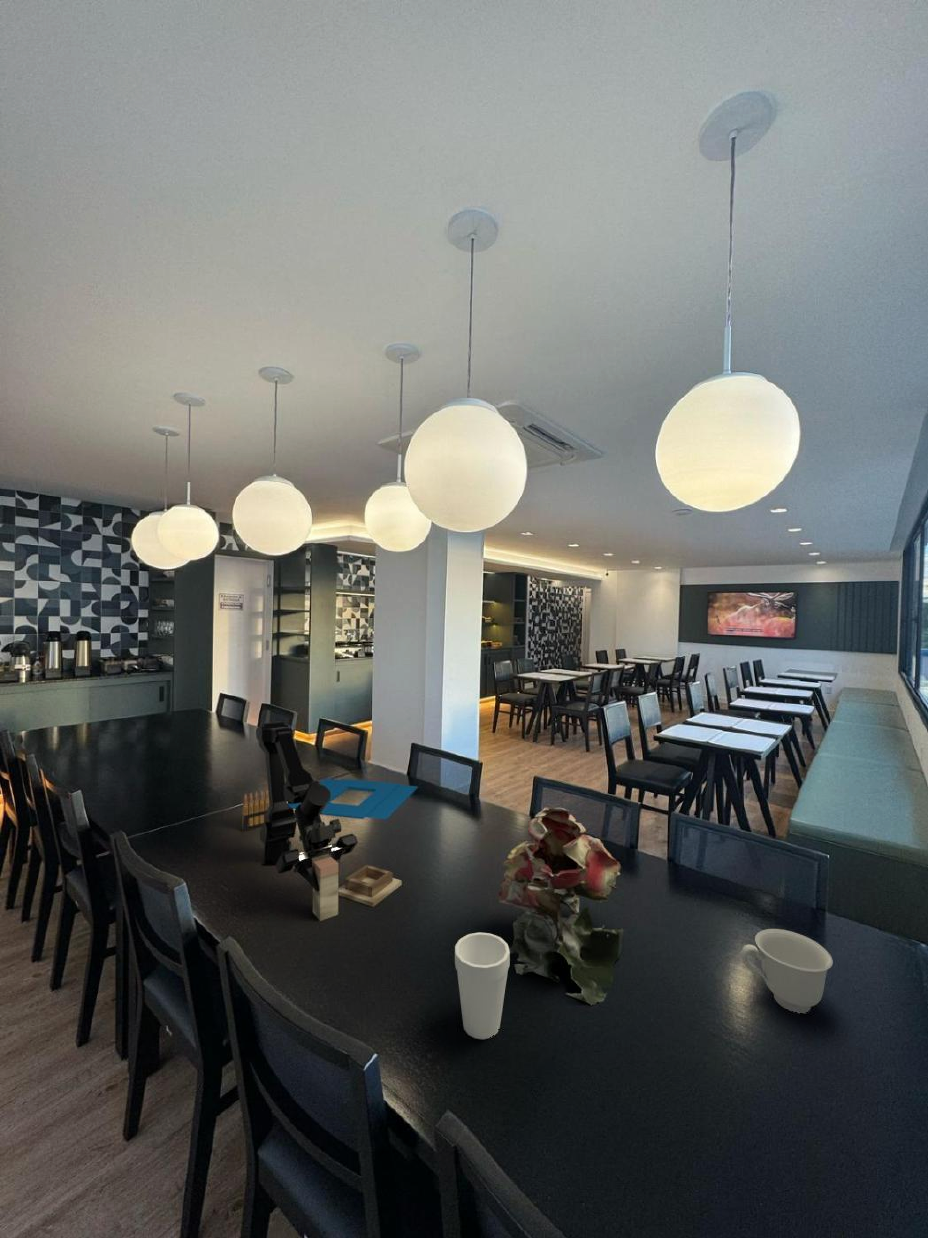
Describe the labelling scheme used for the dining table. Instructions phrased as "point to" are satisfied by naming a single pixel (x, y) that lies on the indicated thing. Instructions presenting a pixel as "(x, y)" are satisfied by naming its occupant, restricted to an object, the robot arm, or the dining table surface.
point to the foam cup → (482, 981)
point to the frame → (373, 806)
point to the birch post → (326, 888)
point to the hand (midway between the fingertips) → (328, 888)
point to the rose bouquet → (556, 876)
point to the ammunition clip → (254, 811)
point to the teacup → (790, 967)
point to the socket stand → (369, 885)
